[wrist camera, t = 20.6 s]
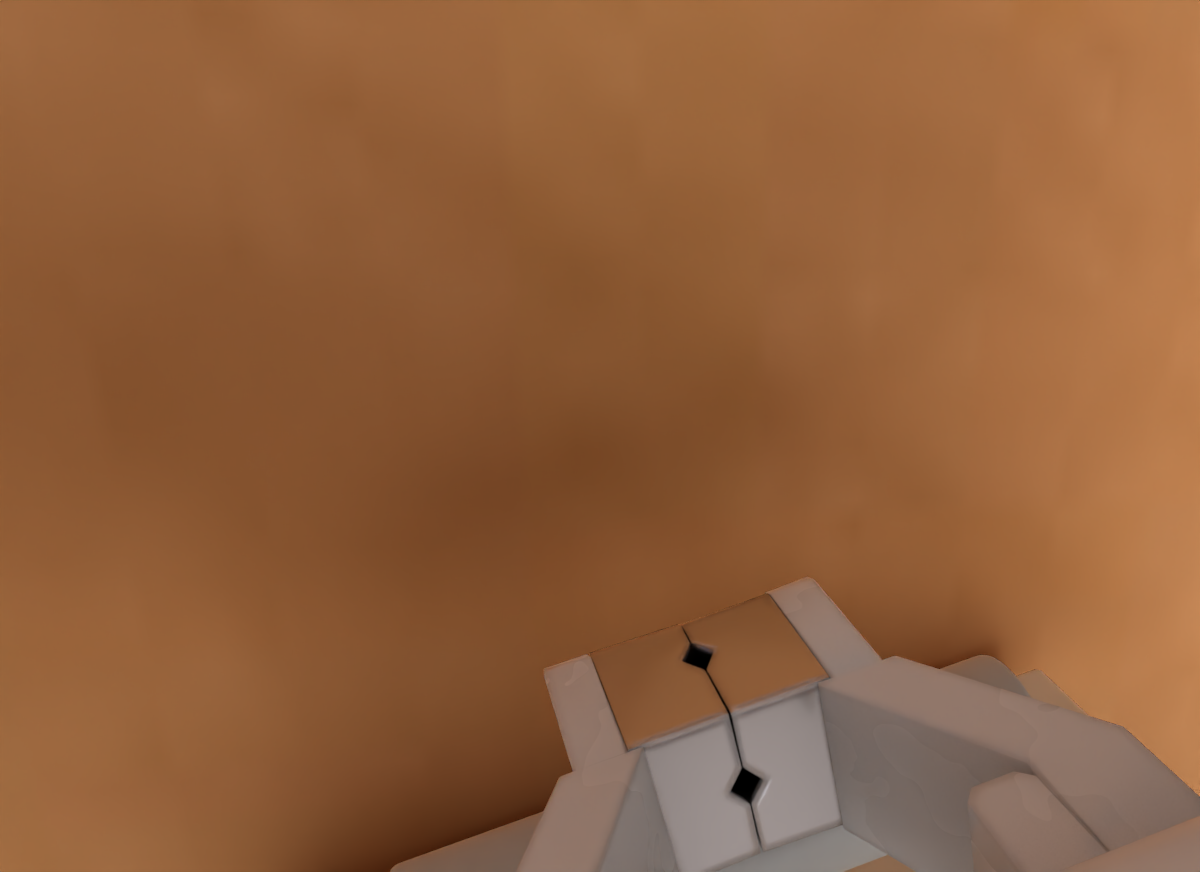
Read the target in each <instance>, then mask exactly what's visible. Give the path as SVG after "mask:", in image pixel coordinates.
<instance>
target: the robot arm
mask: <svg viewBox="0 0 1200 872" xmlns="http://www.w3.org/2000/svg"><path fill="white" fill-rule="evenodd" d="M544 679H545V682H546V685H547V688H548V692H549V695H550V698H551V702H552V705H553V708H554V711H555V715H556V718H557V721H558V725H559V728H560V731H561V734H562V738H563V741H564V744H565V748H566V751H567V754H568V758H569V761H570V764H571V767H572V771H573V772H571V773H568V774H565V775H563V776H560V777H559V779H558V781H557V783H556V785H555V787H554V790H553V792H552V794H551V796H550V798H549V800H548V803H547V805H546V807H545V809H544V811H543V813H542V816H541V818H540V820H539V822H538V824H537V827H536V829H535V831H534V833H533V835H532V837H531V840H530V842H529V844H528V846H527V848H526V850H525V853H524V855H523V857H522V859H521V861H520V863H519V866H518V868H517V870H516V872H716V871H719V870H721V869H724V868H726V867H729V866H731V865H733V864H736V863H738V862H741V861H743V860H745V859H748V858H750V857H753V856H755V855H758V854H760V853H761V852H760V847H761V849H762V851H763V852H766V851H769V850H771V849H774V848H777V847H780V846H783V845H786V844H789V843H792V842H794V841H797V840H800V839H803V838H806V837H809V836H812V835H815V834H817V833H820V832H823V831H826V830H829V829H832V828H835V827H838V826H840V825H843V828H844V829H845V830H847V831H848V832H850V833H852V834H853V835H855V836H857V837H859V838H860V839H862V840H864V841H865V842H867V843H869V844H870V845H872V846H874V847H875V848H877V849H879V850H880V851H882V852H884V853H885V854H887V855H889V856H891V857H892V858H894V859H896V860H897V861H899V862H901V863H902V864H904V865H906V866H907V867H909V868H911V869H912V870H914V871H916V872H1200V797H1199V796H1198V795H1197V794H1196V793H1195V792H1194V791H1193V790H1192V789H1191V788H1190V787H1189V786H1187V785H1186V784H1185V783H1184V782H1183V781H1182V780H1181V779H1180V778H1179V777H1178V776H1177V775H1175V774H1174V773H1173V772H1172V771H1171V770H1170V769H1169V768H1168V767H1167V766H1166V765H1165V764H1163V763H1162V762H1161V761H1160V760H1159V759H1158V758H1157V757H1156V756H1155V755H1154V754H1153V753H1151V752H1150V751H1149V750H1148V749H1147V748H1146V747H1145V746H1144V745H1143V744H1142V743H1141V742H1139V741H1138V740H1137V739H1136V738H1135V737H1134V736H1133V735H1132V734H1131V733H1130V732H1129V731H1127V730H1126V729H1125V728H1124V727H1123V726H1119V725H1116V724H1113V723H1110V722H1107V721H1103V720H1100V719H1097V718H1094V717H1091V716H1087V715H1084V714H1081V713H1078V712H1075V711H1071V710H1068V709H1065V708H1062V707H1059V706H1055V705H1052V704H1049V703H1046V702H1043V701H1039V700H1036V699H1033V698H1030V697H1027V696H1023V695H1020V694H1017V693H1014V692H1011V691H1007V690H1004V689H1001V688H998V687H995V686H991V685H988V684H985V683H982V682H979V681H975V680H972V679H969V678H966V677H963V676H959V675H956V674H953V673H950V672H947V671H943V670H940V669H937V668H934V667H931V666H927V665H924V664H921V663H918V662H915V661H911V660H908V659H905V658H902V657H899V656H892V657H889V658H887V659H884V660H882V659H881V657H880V656H879V655H878V654H877V653H876V652H875V650H874V649H873V648H872V647H871V646H870V644H869V643H868V642H867V641H866V640H865V639H864V637H863V636H862V635H861V634H860V633H859V631H858V630H857V629H856V628H855V627H854V626H853V624H852V623H851V622H850V621H849V620H848V618H847V617H846V616H845V615H844V614H843V613H842V611H841V610H840V609H839V608H838V607H837V605H836V604H835V603H834V602H833V601H832V600H831V598H830V597H829V596H828V595H827V594H826V592H825V591H824V590H823V589H822V588H821V587H820V585H819V584H818V583H817V582H816V581H815V579H812V578H809V577H804V578H802V579H799V580H797V581H794V582H791V583H789V584H786V585H783V586H781V587H778V588H776V589H773V590H770V591H768V592H765V594H764V595H762V596H759V597H756V598H753V599H750V600H747V601H745V602H742V603H739V604H736V605H733V606H730V607H728V608H725V609H722V610H719V611H716V612H713V613H711V614H708V615H705V616H702V617H699V618H696V619H694V620H691V621H688V622H685V623H682V624H679V625H678V624H677V625H674V626H671V627H668V628H665V629H661V630H658V631H655V632H652V633H649V634H646V635H643V636H640V637H637V638H634V639H631V640H628V641H624V642H621V643H618V644H615V645H612V646H609V647H606V648H603V649H600V650H597V651H594V652H590V656H588V655H587V654H585V655H582V656H579V657H576V658H573V659H570V660H567V661H564V662H562V663H559V664H556V665H553V666H550V667H547V668H544ZM759 845H760V847H759Z"/></svg>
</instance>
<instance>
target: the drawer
mask: <svg viewBox="0 0 1200 872" xmlns="http://www.w3.org/2000/svg"><path fill="white" fill-rule="evenodd" d="M940 670H943V671H947V672H950V673H953V674H956V675H959V676H963V677H966V678H969V679H972V680H975V681H979V682H982V683H985V684H988V685H991V686H995V687H998V688H1001V689H1004V690H1007V691H1011V692H1014V693H1017V694H1020V695H1023V696H1027V697H1030V698H1033V699H1036V700H1039V701H1043V702H1046V703H1049V704H1052V705H1055V706H1059V707H1062V708H1065V709H1068V710H1071V711H1075V712H1078V713H1081V714H1084V715H1087V716H1089V715H1088V714H1087V713H1086V712H1085V711H1084V710H1083V709H1081V708H1080V707H1079V706H1078V705H1077V704H1076V703H1075V702H1074V701H1073V700H1072V699H1071V698H1070V697H1069V696H1068V695H1067V694H1066V693H1064V692H1063V691H1062V690H1061V689H1060V688H1059V687H1058V686H1057V685H1056V684H1055V683H1054V682H1053V681H1052V680H1051V679H1050V678H1049V677H1048V676H1046V675H1045V674H1044V673H1043V672H1042V671H1041V670H1039V669H1034V670H1031V671H1029V672H1026V673H1023V674H1020V675H1018V676H1015V674H1014V673H1013V672H1012V671H1011V670H1010V669H1009V668H1008V667H1007V666H1006V665H1004V664H1003V663H1002V662H1001V661H999V660H998V659H996V658H994V657H992V656H989V655H977V656H974V657H971V658H969V659H966V660H963V661H960V662H958V663H955V664H952V665H949V666H946V667H944V668H941V669H940ZM542 813H543V812H540V813H537V814H534V815H532V816H529V817H526V818H523V819H520V820H518V821H515V822H512V823H509V824H507V825H504V826H501V827H498V828H495V829H493V830H490V831H487V832H484V833H481V834H479V835H476V836H473V837H470V838H468V839H465V840H462V841H459V842H456V843H454V844H451V845H448V846H445V847H442V848H440V849H437V850H434V851H431V852H429V853H426V854H423V855H420V856H417V857H415V858H412V859H409V860H406V861H404V862H401V863H398V864H396V865H395V866H394V867H392V868H391V870H390V872H516V870H517V868H518V866H519V863H520V861H521V859H522V857H523V855H524V853H525V850H526V848H527V846H528V844H529V842H530V840H531V837H532V835H533V833H534V831H535V829H536V827H537V824H538V822H539V820H540V818H541V816H542ZM759 847H760V845H759ZM760 852H761V853H760V854H758V855H755V856H753V857H750V858H748V859H745V860H743V861H741V862H738V863H736V864H733V865H731V866H729V867H726V868H724V869H721V870H719V871H716V872H916V871H914V870H912V869H911V868H909V867H907V866H906V865H904V864H902V863H901V862H899V861H897V860H896V859H894V858H892V857H891V856H889V855H887V854H885V853H884V852H882V851H880V850H879V849H877V848H875V847H874V846H872V845H870V844H869V843H867V842H865V841H864V840H862V839H860V838H859V837H857V836H855V835H853V834H852V833H850V832H848V831H847V830H845V829H844V828H843V825H840V826H838V827H835V828H832V829H829V830H826V831H823V832H820V833H817V834H815V835H812V836H809V837H806V838H803V839H800V840H797V841H794V842H792V843H789V844H786V845H783V846H780V847H777V848H774V849H771V850H769V851H766V852H763V851H762V849H761V847H760Z"/></svg>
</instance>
